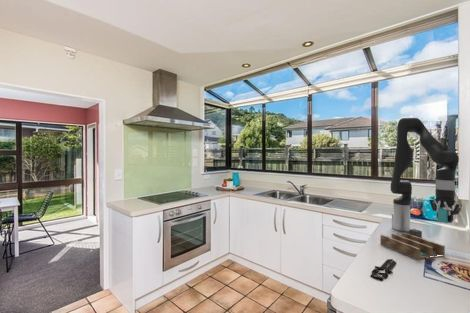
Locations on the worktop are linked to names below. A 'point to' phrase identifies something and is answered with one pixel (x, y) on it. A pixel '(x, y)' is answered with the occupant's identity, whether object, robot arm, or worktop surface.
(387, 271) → the black bumpy piece
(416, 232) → the charcoal plug
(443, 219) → the teal plug
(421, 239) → the wooden bookshelf
